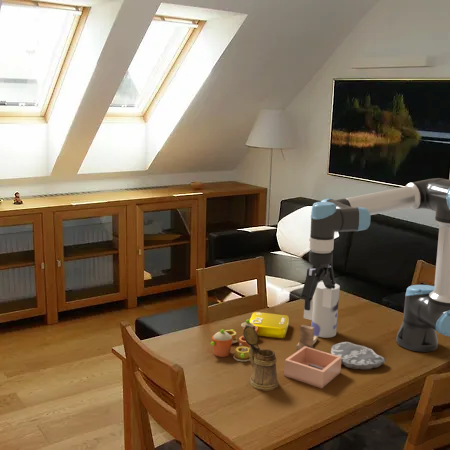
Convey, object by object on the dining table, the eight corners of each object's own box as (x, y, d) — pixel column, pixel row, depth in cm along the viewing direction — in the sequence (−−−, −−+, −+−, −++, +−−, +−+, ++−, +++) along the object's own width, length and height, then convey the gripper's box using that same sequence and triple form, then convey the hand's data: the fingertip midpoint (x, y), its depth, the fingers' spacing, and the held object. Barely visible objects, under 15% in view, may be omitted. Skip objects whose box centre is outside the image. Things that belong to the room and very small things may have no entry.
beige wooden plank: (307, 352, 213) (307, 347, 213) (295, 350, 215) (296, 345, 214) (317, 341, 224) (317, 336, 223) (306, 338, 225) (306, 333, 225)
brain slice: (317, 358, 208) (318, 350, 208) (347, 346, 219) (348, 339, 218) (362, 379, 194) (363, 371, 193) (391, 365, 205) (392, 357, 204)
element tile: (284, 339, 224) (285, 327, 223) (246, 334, 227) (246, 323, 226) (288, 325, 238) (289, 314, 237) (252, 321, 241) (253, 310, 240)
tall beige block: (312, 359, 207) (314, 327, 204) (309, 360, 205) (311, 329, 203) (300, 355, 210) (302, 324, 207) (298, 357, 208) (300, 326, 205)
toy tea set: (251, 365, 201) (252, 339, 199) (207, 360, 204) (208, 334, 202) (261, 336, 226) (263, 312, 224) (223, 331, 229) (223, 308, 227)
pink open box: (340, 373, 197) (341, 357, 195) (322, 389, 186) (323, 372, 184) (303, 361, 205) (304, 346, 203) (283, 376, 193) (284, 359, 192)
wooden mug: (252, 370, 197) (254, 321, 193) (283, 385, 188) (286, 333, 184) (234, 379, 190) (236, 328, 186) (266, 394, 181) (269, 341, 177)
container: (338, 338, 225) (341, 289, 221) (312, 337, 226) (315, 288, 221) (333, 328, 235) (337, 281, 231) (309, 327, 235) (312, 280, 231)
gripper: (327, 241, 198) (323, 299, 202) (291, 256, 178) (288, 321, 182) (348, 244, 193) (343, 304, 198) (314, 260, 174) (310, 327, 178)
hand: (317, 312), depth 190 cm, fingers open, 13 cm apart
